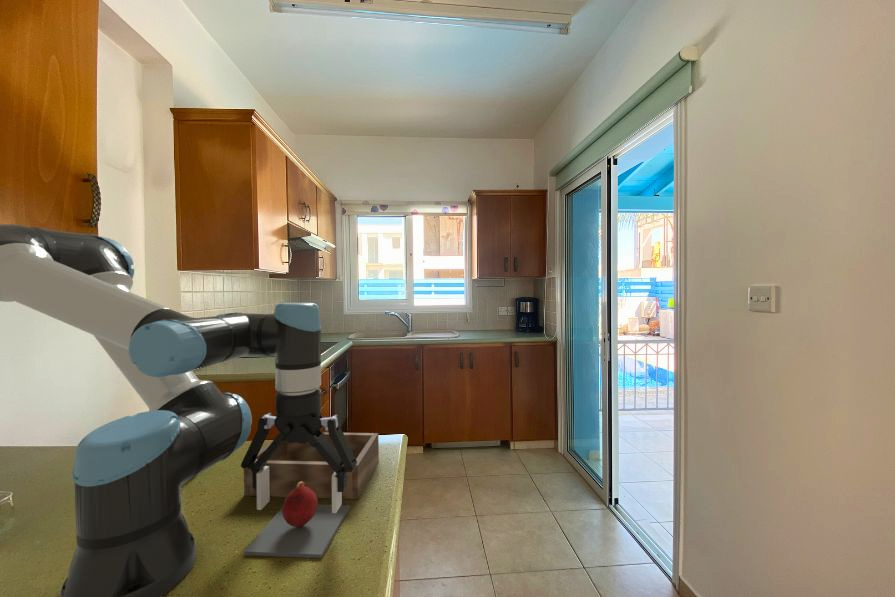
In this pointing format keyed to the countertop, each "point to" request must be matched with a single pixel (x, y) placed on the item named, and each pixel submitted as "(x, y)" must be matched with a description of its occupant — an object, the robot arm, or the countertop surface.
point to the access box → (316, 467)
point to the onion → (299, 506)
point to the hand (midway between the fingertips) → (299, 507)
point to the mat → (298, 535)
